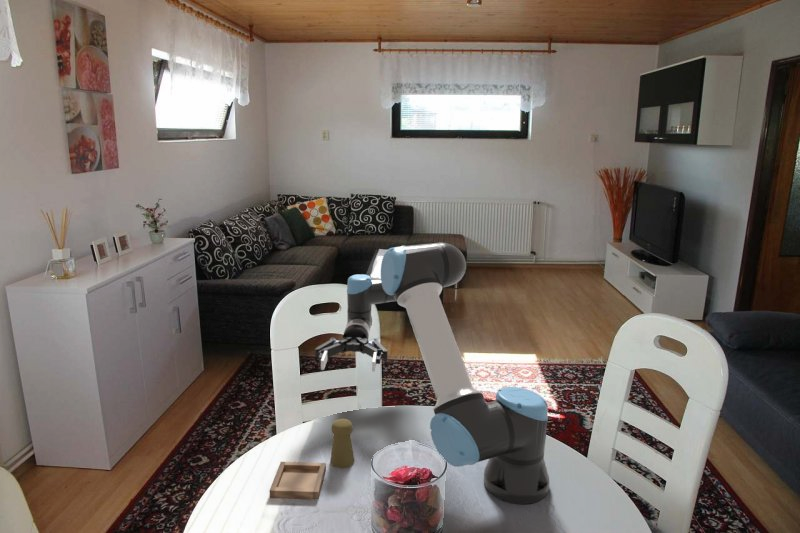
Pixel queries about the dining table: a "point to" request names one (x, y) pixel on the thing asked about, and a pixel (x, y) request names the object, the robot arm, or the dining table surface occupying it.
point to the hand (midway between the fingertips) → (347, 366)
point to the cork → (342, 444)
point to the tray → (298, 480)
